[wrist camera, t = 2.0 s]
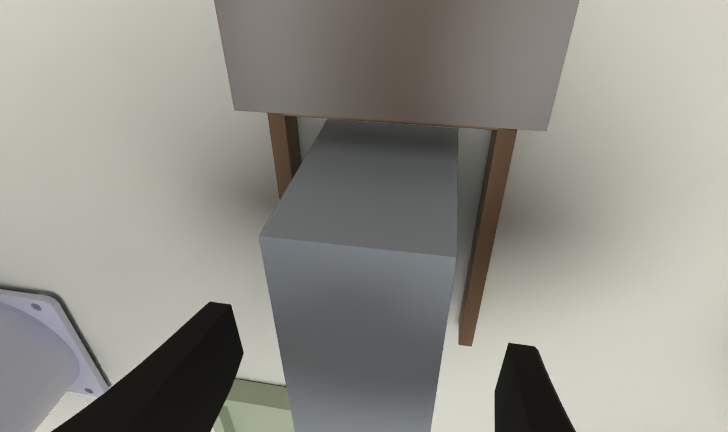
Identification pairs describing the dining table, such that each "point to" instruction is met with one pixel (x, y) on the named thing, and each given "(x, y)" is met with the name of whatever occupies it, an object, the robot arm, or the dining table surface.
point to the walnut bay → (402, 78)
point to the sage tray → (255, 409)
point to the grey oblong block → (365, 275)
